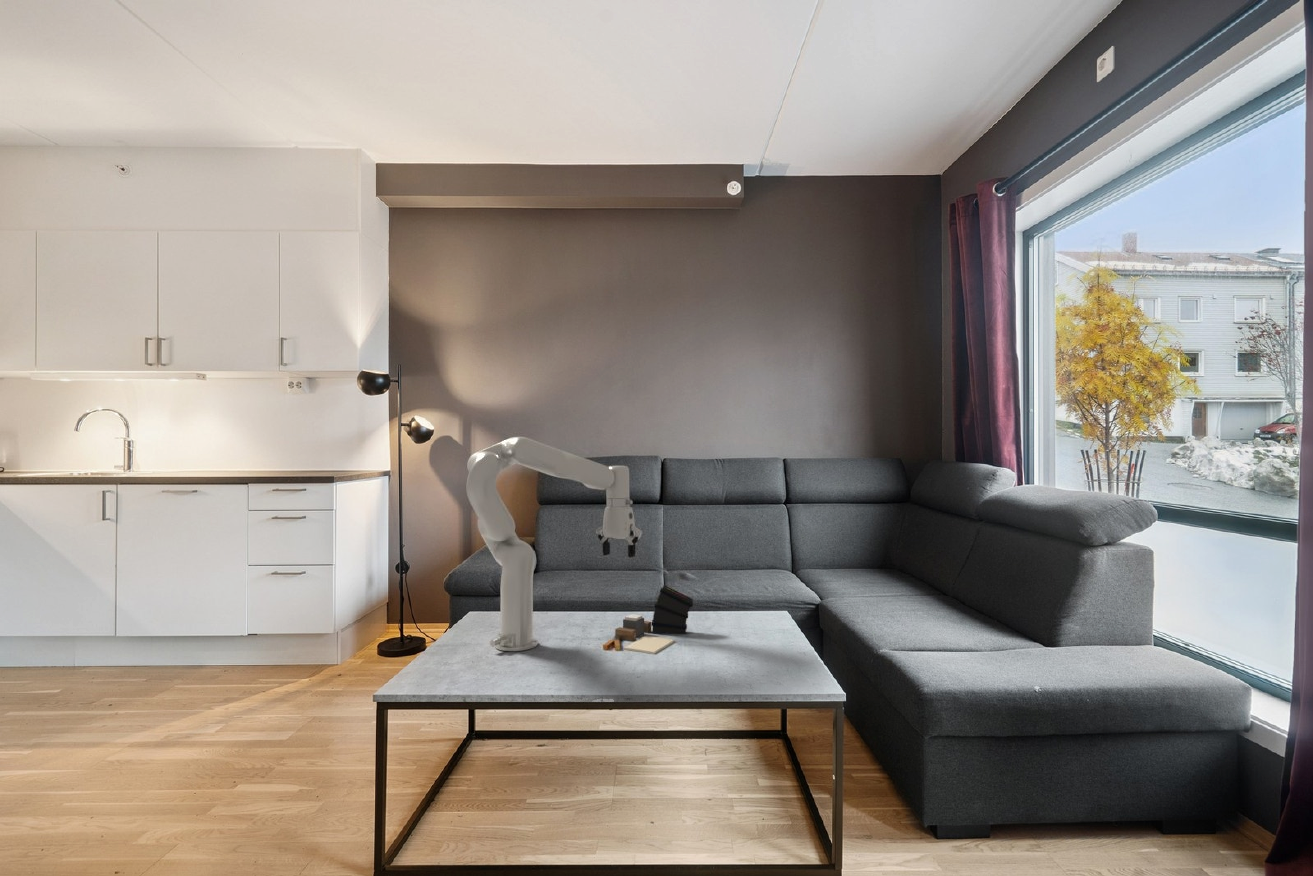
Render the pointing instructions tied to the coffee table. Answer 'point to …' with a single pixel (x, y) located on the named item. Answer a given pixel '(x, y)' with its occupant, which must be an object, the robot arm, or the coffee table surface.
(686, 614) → the black layered block
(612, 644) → the cutter
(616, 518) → the robot arm
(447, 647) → the coffee table surface
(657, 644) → the mat
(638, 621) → the grey box
